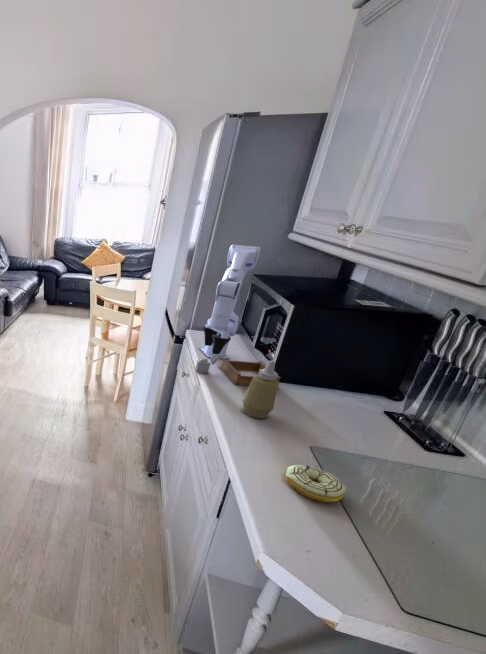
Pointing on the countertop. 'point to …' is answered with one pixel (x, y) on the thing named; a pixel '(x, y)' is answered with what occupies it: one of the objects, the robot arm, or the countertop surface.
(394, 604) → the countertop surface
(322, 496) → the decorated donut
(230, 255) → the robot arm
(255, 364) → the wooden tray
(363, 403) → the countertop surface
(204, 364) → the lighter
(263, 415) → the squeeze bottle
